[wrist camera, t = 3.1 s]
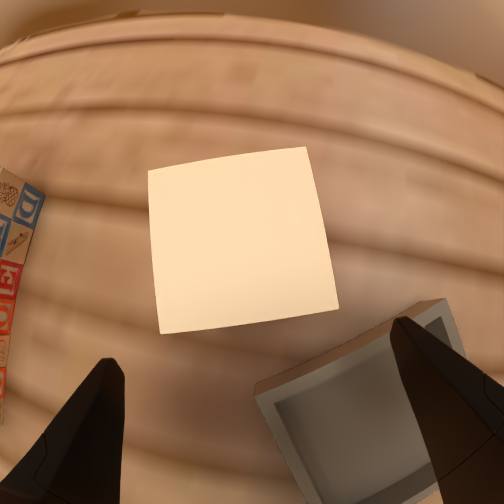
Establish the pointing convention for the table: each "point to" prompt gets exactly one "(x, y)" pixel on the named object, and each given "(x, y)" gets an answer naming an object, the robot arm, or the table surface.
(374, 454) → the grey square tray
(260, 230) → the cream block
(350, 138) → the table surface
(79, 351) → the table surface
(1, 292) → the stack of blocks
